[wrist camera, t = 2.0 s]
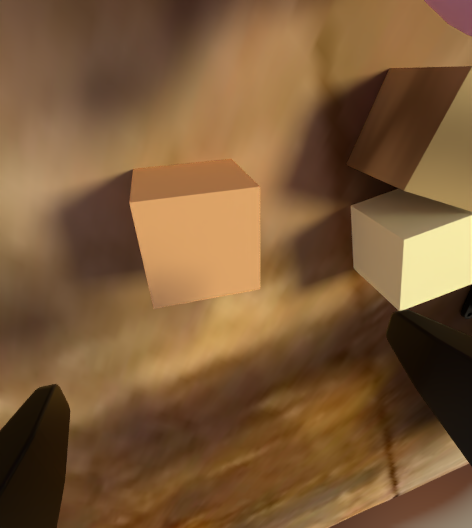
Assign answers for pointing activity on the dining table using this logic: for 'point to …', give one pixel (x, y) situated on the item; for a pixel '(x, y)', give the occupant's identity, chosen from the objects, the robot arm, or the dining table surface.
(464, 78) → the walnut cube
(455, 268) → the cream cube
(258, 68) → the dining table surface
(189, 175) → the terracotta cube
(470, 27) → the teapot
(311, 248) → the dining table surface
